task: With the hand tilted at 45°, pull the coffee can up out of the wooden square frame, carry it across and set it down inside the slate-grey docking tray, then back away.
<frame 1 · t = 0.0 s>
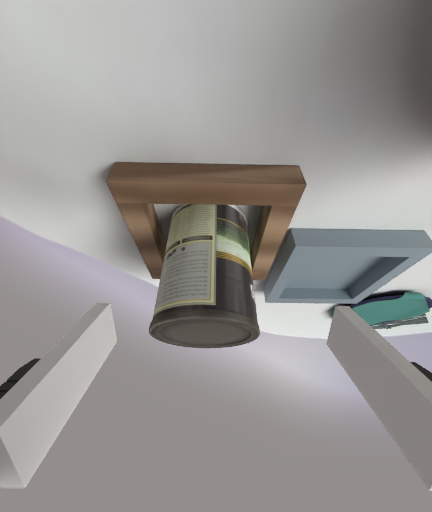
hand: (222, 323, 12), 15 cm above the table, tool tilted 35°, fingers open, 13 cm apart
cutlery set: (380, 310, 54), on the table
coffee can: (208, 225, 28), resting in wooden square frame
docking tray: (327, 265, 35), on the table
wooden square frame: (208, 227, 28), on the table
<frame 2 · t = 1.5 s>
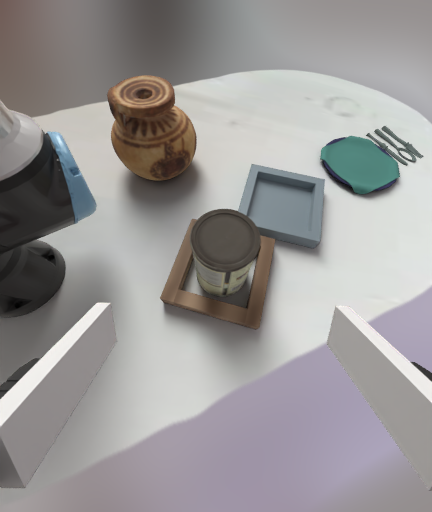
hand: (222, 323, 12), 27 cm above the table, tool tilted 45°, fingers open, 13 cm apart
cutlery set: (367, 162, 59), on the table
clay pot: (162, 166, 56), on the table
coffee can: (221, 272, 43), resting in wooden square frame
docking tray: (278, 207, 50), on the table
wooden square frame: (221, 272, 43), on the table
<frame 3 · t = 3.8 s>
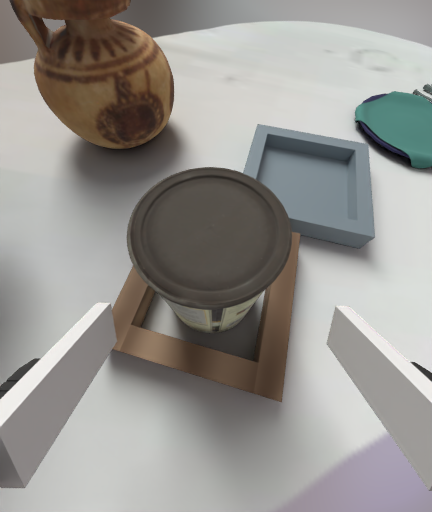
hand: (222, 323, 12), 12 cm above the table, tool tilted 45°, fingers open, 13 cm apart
cutlery set: (420, 126, 42), on the table
clay pot: (128, 132, 39), on the table
coffee can: (211, 290, 26), resting in wooden square frame
docking tray: (299, 186, 33), on the table
wooden square frame: (211, 289, 26), on the table
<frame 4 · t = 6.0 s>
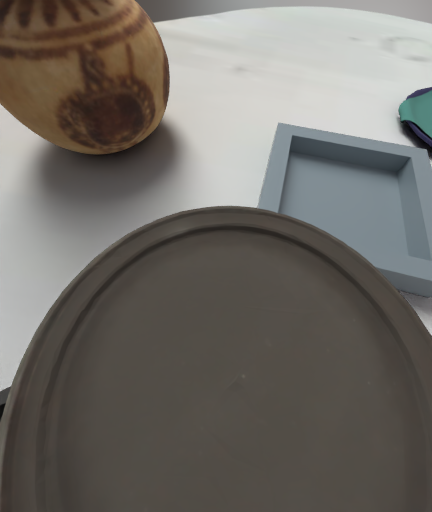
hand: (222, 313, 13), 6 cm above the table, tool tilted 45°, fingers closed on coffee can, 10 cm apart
clay pot: (112, 132, 31), on the table
coffee can: (219, 364, 18), resting in wooden square frame, touching gripper
docking tray: (335, 205, 25), on the table
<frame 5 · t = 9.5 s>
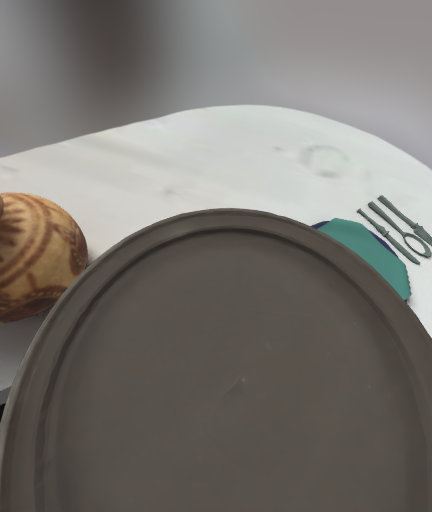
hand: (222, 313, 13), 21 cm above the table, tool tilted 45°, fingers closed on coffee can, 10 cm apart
cutlery set: (361, 258, 40), on the table
clay pot: (47, 273, 37), on the table
coffee can: (219, 365, 18), point 15 cm above the table, touching gripper
when the fingers open (8 cm above the table, at t = 13.2 s): coffee can drops 1 cm, resting on docking tray.
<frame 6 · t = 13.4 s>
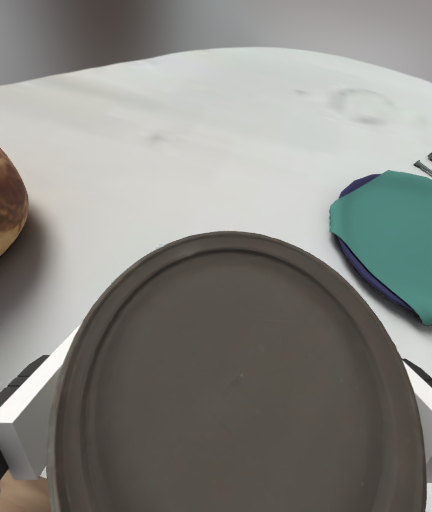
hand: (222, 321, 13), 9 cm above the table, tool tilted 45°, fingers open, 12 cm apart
cutlery set: (428, 226, 28), on the table
coffee can: (219, 366, 19), point 1 cm above the table, touching docking tray
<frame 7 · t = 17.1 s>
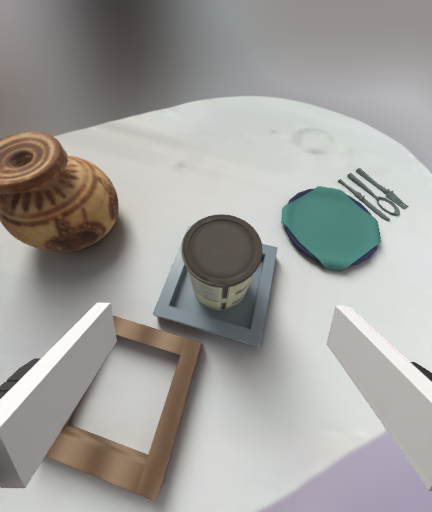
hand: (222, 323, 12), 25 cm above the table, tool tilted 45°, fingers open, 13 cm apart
cutlery set: (341, 218, 48), on the table
clay pot: (85, 225, 46), on the table
coffee can: (219, 283, 39), point 1 cm above the table, touching docking tray
docking tray: (219, 283, 40), on the table
wooden square frame: (129, 387, 32), on the table
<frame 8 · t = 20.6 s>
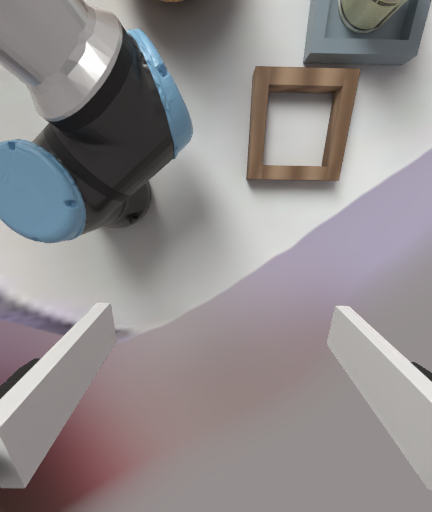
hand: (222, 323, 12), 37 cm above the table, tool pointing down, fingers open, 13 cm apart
wooden square frame: (294, 131, 41), on the table
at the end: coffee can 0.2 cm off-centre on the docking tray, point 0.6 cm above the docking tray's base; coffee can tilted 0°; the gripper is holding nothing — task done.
